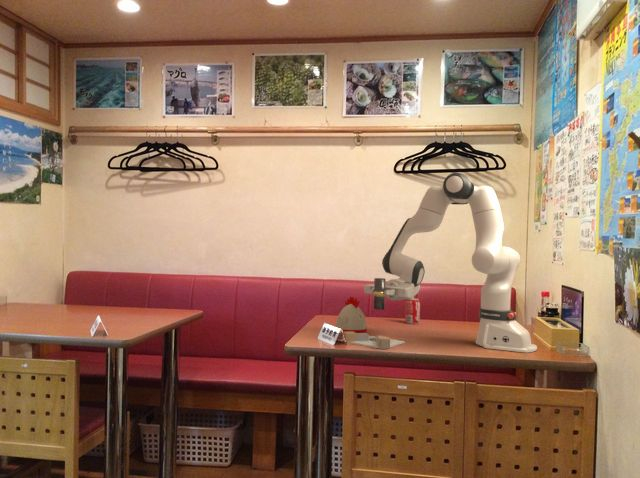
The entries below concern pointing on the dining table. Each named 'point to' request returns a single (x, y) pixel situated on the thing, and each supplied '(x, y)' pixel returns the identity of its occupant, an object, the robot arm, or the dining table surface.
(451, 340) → the dining table surface
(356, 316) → the kitchen timer
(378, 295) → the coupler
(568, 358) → the dining table surface
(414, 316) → the soda can
